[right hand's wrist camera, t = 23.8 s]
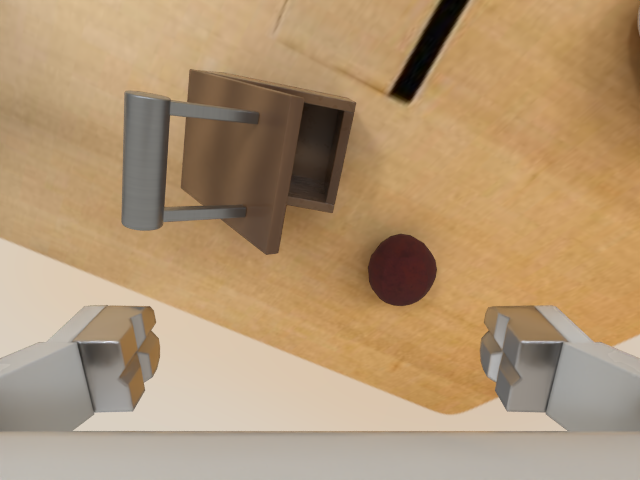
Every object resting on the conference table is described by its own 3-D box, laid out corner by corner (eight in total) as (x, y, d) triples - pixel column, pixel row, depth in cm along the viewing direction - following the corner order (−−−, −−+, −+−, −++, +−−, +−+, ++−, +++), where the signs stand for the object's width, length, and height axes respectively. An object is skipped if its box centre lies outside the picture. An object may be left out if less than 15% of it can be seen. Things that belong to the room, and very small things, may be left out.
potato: (364, 287, 50) (371, 319, 43) (364, 226, 47) (372, 250, 41) (426, 285, 50) (442, 316, 43) (429, 224, 47) (447, 247, 40)
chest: (348, 98, 42) (356, 102, 34) (330, 187, 46) (332, 213, 37) (223, 72, 42) (197, 70, 33) (213, 165, 45) (187, 186, 36)
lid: (305, 98, 23) (148, 71, 18) (278, 253, 26) (140, 271, 21) (201, 71, 32) (78, 48, 27) (191, 188, 36) (80, 188, 30)
